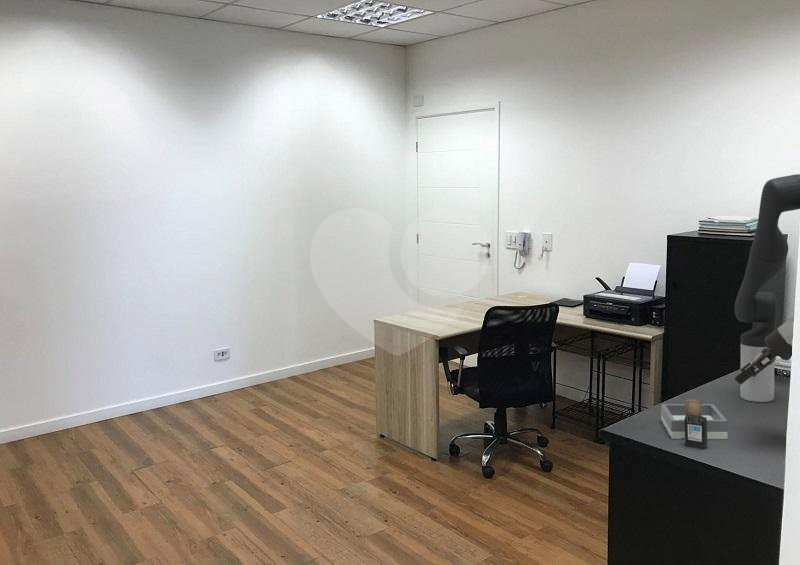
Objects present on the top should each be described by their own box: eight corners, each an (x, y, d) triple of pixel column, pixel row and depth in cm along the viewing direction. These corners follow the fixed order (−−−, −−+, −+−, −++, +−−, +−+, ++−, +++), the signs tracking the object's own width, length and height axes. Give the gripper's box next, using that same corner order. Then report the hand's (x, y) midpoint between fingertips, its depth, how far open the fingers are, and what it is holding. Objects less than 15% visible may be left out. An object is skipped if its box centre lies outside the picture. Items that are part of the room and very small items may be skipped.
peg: (683, 427, 188) (683, 399, 187) (699, 427, 188) (699, 399, 186) (687, 432, 184) (687, 404, 183) (702, 432, 184) (702, 404, 183)
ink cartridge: (684, 446, 175) (684, 416, 174) (687, 443, 177) (686, 414, 176) (705, 449, 172) (704, 419, 171) (707, 446, 174) (706, 416, 173)
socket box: (661, 420, 194) (661, 404, 193) (713, 421, 191) (713, 404, 191) (671, 438, 181) (671, 420, 180) (727, 439, 178) (727, 421, 177)
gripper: (782, 321, 176) (734, 360, 184) (775, 332, 164) (723, 373, 173) (805, 343, 173) (755, 381, 182) (799, 355, 162) (746, 395, 170)
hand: (740, 377), depth 177 cm, fingers open, 8 cm apart
